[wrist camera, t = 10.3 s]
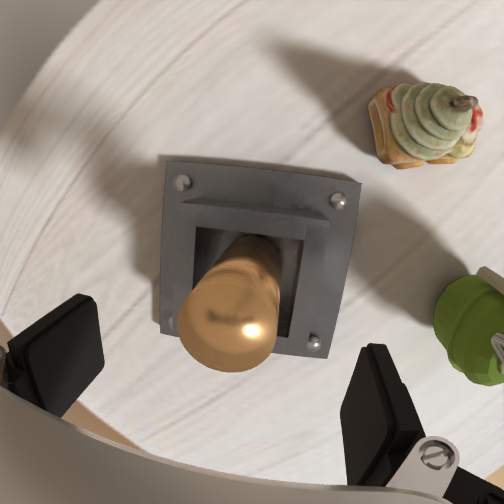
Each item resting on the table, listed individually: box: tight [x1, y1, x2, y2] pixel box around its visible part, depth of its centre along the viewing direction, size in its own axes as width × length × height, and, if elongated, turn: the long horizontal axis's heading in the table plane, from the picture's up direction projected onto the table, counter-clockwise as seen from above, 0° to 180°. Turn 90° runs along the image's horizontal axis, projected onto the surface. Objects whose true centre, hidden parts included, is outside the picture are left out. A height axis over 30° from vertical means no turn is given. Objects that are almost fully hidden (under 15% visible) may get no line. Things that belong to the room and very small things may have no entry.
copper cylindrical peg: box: [177, 236, 282, 372], centre depth 18 cm, size 4×4×10 cm
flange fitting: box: [160, 161, 362, 359], centre depth 21 cm, size 14×14×5 cm
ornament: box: [368, 82, 483, 169], centre depth 15 cm, size 8×6×10 cm
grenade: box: [433, 266, 504, 386], centre depth 15 cm, size 7×8×15 cm
